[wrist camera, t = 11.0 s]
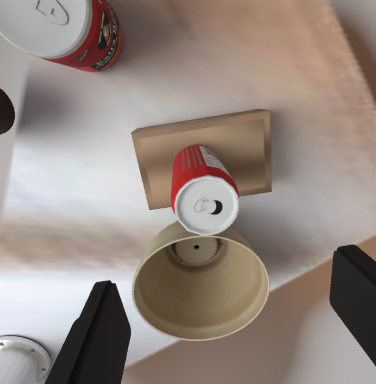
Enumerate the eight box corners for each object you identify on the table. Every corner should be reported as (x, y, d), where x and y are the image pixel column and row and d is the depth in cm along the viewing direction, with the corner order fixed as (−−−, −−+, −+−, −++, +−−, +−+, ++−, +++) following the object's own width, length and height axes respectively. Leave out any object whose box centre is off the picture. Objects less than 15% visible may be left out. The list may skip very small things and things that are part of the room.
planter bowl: (128, 258, 38) (109, 316, 28) (175, 176, 33) (173, 210, 23) (211, 294, 41) (221, 357, 31) (266, 224, 37) (298, 272, 26)
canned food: (116, 82, 28) (80, 73, 18) (48, 58, 27) (-30, 33, 17) (131, 10, 26) (99, -48, 16) (57, -21, 25) (-30, -105, 14)
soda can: (169, 182, 29) (163, 233, 18) (178, 138, 27) (179, 165, 16) (211, 191, 30) (231, 246, 19) (224, 149, 28) (254, 183, 17)
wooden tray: (261, 181, 34) (271, 191, 30) (152, 198, 34) (149, 210, 30) (258, 109, 30) (270, 110, 26) (137, 128, 31) (130, 133, 27)
